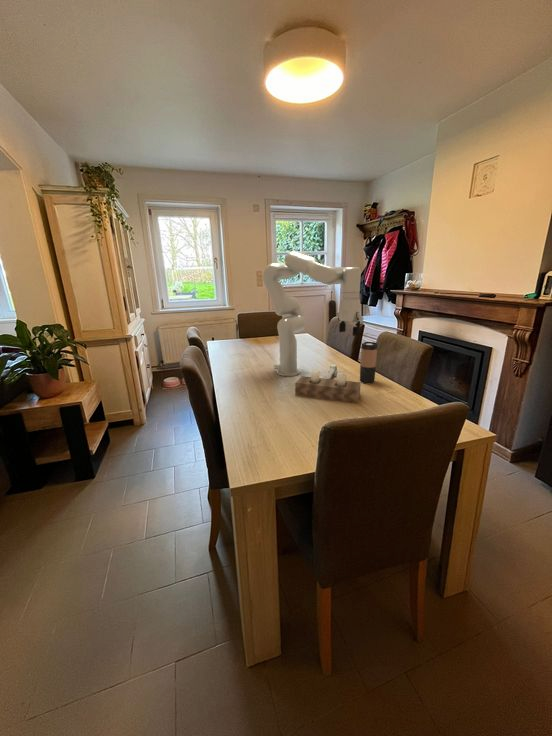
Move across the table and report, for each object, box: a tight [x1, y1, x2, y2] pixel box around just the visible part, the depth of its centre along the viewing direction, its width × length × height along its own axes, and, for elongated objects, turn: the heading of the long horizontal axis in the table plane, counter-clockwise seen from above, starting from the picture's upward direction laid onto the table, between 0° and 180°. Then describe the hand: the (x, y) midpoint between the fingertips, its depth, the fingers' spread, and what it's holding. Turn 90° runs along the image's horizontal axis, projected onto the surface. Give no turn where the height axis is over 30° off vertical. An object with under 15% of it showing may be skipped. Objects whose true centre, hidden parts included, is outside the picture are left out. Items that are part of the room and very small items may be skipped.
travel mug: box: [359, 341, 378, 384], centre depth 154 cm, size 8×8×20 cm
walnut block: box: [294, 375, 362, 404], centre depth 140 cm, size 28×10×6 cm, turn 68°
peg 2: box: [335, 371, 347, 386], centre depth 137 cm, size 4×4×6 cm
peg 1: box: [310, 369, 321, 383], centre depth 141 cm, size 4×4×6 cm
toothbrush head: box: [322, 363, 339, 379], centre depth 159 cm, size 5×7×25 cm
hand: (348, 333), depth 142 cm, fingers open, 9 cm apart
